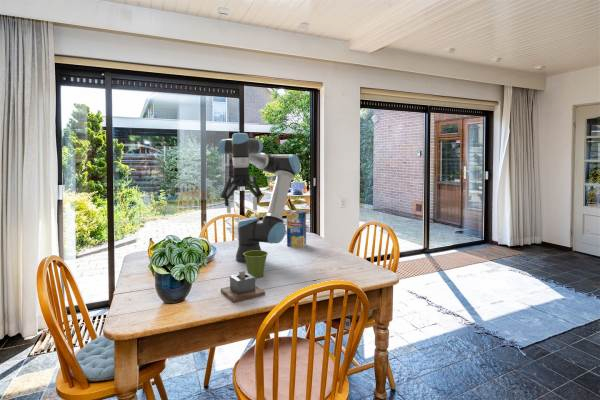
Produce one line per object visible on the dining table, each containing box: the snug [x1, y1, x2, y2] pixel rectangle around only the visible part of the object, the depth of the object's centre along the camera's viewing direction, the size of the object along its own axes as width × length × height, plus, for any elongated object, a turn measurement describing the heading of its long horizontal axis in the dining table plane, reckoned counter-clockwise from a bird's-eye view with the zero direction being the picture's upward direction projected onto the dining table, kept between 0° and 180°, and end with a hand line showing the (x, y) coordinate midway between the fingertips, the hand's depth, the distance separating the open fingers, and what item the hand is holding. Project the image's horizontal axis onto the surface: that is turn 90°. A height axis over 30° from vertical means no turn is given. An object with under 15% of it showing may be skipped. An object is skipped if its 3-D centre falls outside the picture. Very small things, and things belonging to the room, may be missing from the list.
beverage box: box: [286, 210, 307, 248], centre depth 231 cm, size 7×11×22 cm, turn 73°
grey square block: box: [229, 271, 256, 295], centre depth 152 cm, size 8×8×6 cm
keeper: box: [220, 270, 266, 304], centre depth 152 cm, size 14×14×10 cm
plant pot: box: [243, 249, 269, 279], centre depth 175 cm, size 12×12×11 cm
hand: (242, 211), depth 171 cm, fingers open, 13 cm apart
